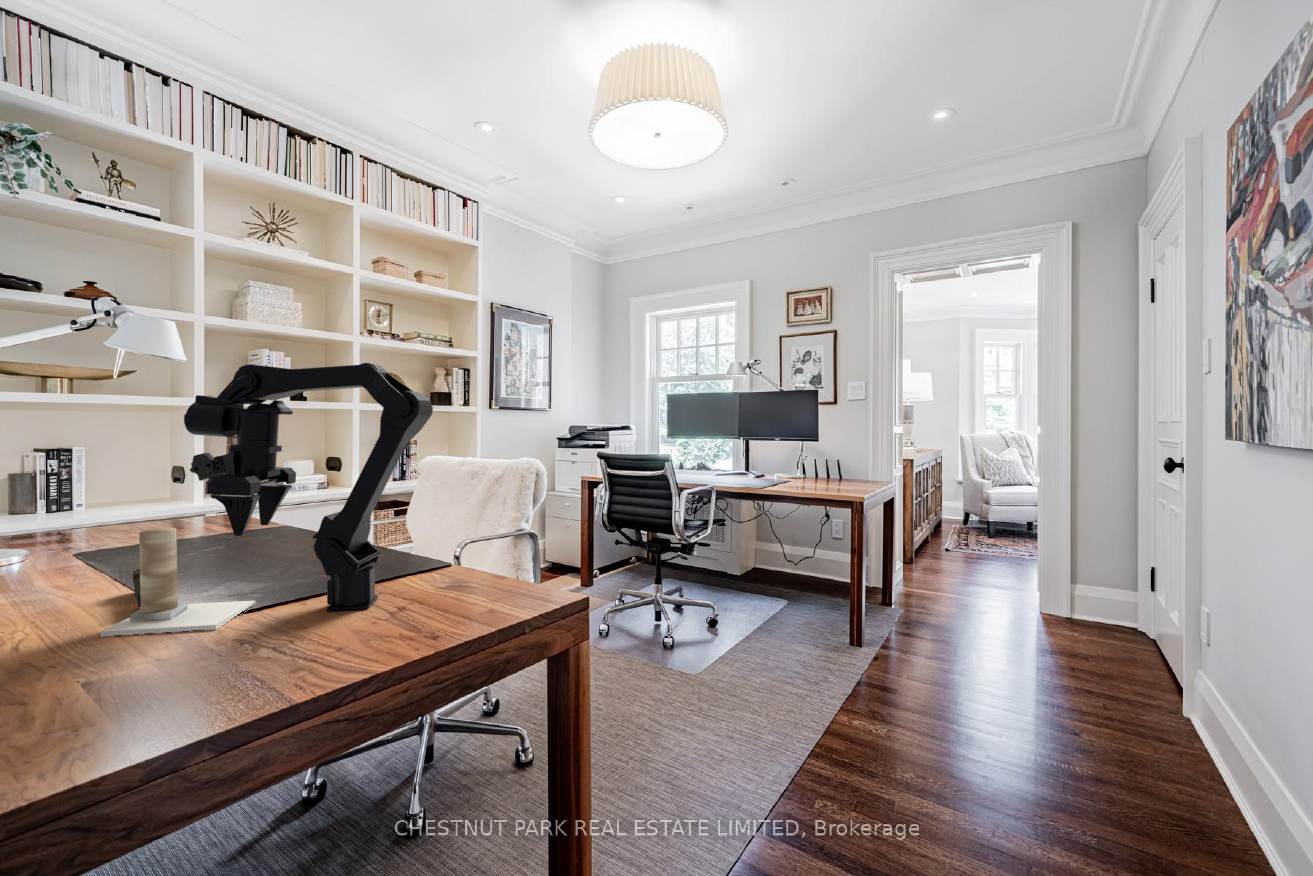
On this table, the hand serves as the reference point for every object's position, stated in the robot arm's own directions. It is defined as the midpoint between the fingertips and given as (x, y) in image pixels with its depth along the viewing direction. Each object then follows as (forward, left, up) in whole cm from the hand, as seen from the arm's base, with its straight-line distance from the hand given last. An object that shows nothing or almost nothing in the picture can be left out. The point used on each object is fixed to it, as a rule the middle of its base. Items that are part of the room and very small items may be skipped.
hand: (252, 530), depth 97 cm
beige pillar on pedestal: (+11, +6, -12) cm, 17 cm away
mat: (+7, +6, -13) cm, 16 cm away
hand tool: (+19, -5, -13) cm, 24 cm away
